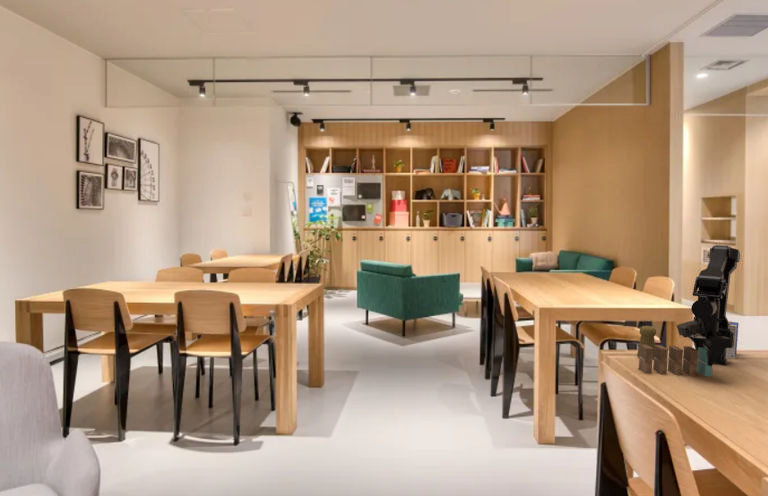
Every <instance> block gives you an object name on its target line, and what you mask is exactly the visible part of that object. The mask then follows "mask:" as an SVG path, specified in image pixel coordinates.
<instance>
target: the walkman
mask: <svg viewBox="0 0 768 496" xmlns="http://www.w3.org/2000/svg"><path fill="white" fill-rule="evenodd" d="M729 323H730V329H732V333H733V334H734V346H733V348H726V359H735V358H736V355H737V351H738V349H737V348H738V347H737V346H738V335H739V322H736V321H731V320H730V321H729Z"/></svg>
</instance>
